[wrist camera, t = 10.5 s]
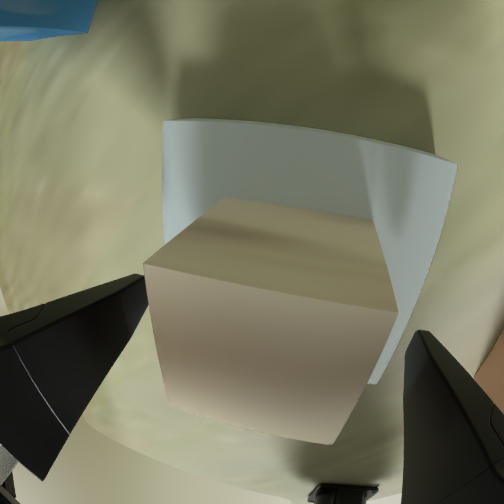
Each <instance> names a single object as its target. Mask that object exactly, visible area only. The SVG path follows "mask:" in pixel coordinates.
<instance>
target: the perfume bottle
mask: <svg viewBox="0 0 504 504" xmlns="http://www.w3.org/2000/svg"><path fill="white" fill-rule="evenodd" d="M97 1H98V0H0V41H32V40H37V39H43V38H49V37H56V36H63V35H71V34H81V33H88V30H89V26H90V23H91V20H92V16H93V13H94V10H95V7H96V4H97Z"/></svg>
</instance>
